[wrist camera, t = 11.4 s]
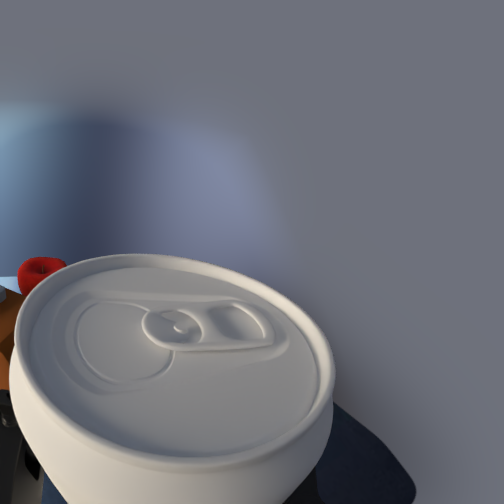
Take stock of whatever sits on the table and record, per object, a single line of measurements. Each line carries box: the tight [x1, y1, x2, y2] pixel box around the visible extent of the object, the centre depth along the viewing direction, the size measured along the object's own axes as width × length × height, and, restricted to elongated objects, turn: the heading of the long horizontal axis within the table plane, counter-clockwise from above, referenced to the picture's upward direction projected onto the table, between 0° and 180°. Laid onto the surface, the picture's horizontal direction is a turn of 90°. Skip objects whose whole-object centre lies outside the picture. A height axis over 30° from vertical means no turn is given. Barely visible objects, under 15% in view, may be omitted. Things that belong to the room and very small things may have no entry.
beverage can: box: [9, 254, 336, 504], centre depth 8 cm, size 8×8×12 cm
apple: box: [18, 257, 67, 297], centre depth 36 cm, size 9×9×8 cm
